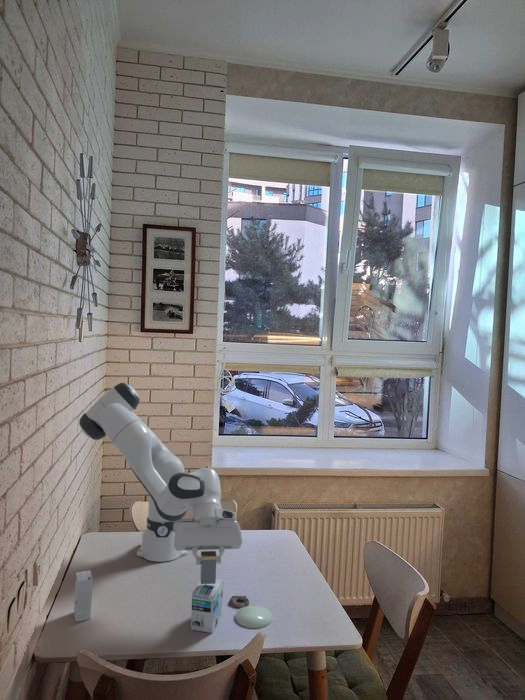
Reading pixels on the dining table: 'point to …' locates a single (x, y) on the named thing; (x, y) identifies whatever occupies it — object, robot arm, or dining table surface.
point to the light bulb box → (207, 606)
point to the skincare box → (83, 596)
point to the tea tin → (208, 567)
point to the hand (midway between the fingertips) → (208, 563)
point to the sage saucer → (253, 616)
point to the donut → (241, 604)
